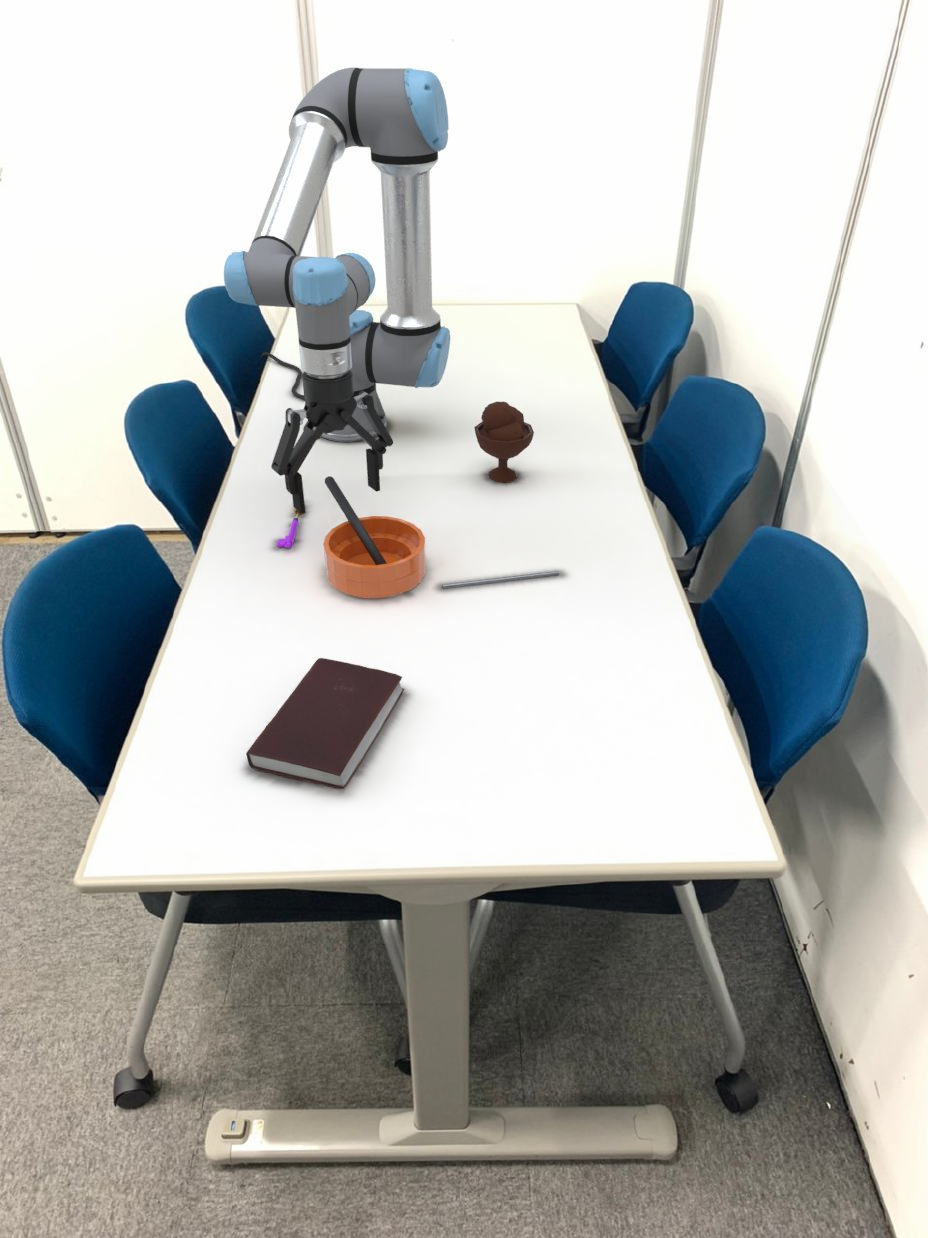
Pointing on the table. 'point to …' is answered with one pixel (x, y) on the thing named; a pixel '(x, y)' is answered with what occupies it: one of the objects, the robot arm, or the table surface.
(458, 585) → the rod
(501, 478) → the ice cream bowl
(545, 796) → the table surface
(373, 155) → the robot arm
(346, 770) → the book
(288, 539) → the purple gold bent tool
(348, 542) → the bowl
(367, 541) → the stick
